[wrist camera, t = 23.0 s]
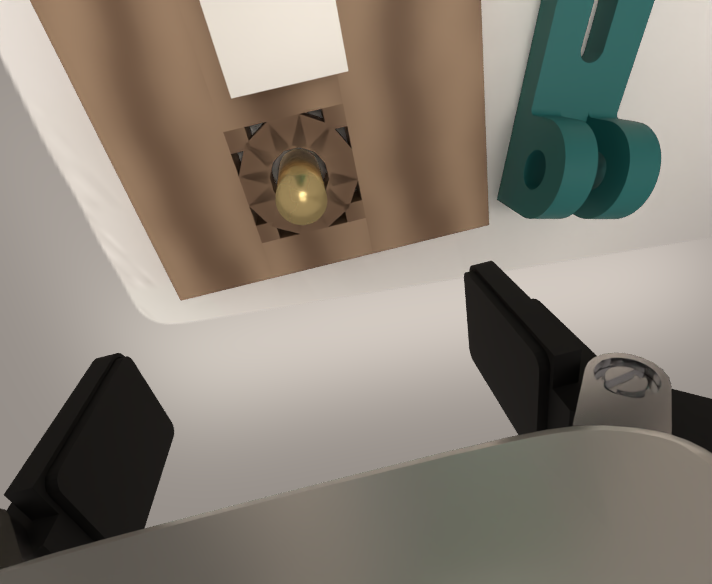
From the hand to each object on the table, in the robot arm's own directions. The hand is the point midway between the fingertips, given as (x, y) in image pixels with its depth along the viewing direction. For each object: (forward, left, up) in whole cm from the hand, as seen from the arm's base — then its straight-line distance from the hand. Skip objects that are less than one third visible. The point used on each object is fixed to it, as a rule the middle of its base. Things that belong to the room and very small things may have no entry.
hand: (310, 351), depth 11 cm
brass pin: (0, 0, -22) cm, 22 cm away
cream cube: (-1, -9, -20) cm, 22 cm away
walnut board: (-1, -3, -22) cm, 23 cm away
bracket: (-21, -2, -23) cm, 31 cm away
